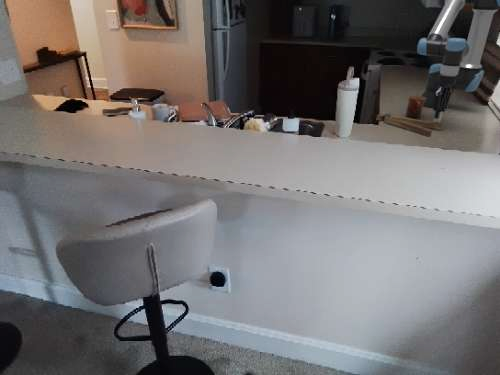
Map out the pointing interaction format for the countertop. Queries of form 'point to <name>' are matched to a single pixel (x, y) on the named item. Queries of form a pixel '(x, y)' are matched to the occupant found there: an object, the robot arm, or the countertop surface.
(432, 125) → the tongs jaw
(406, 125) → the wooden kitchen tongs
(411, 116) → the mug
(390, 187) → the countertop surface
